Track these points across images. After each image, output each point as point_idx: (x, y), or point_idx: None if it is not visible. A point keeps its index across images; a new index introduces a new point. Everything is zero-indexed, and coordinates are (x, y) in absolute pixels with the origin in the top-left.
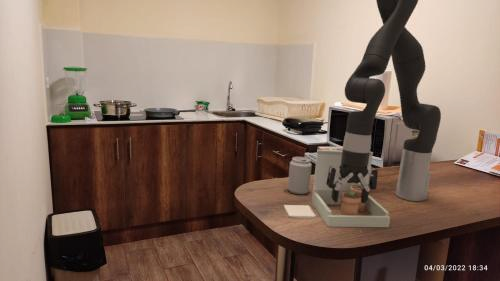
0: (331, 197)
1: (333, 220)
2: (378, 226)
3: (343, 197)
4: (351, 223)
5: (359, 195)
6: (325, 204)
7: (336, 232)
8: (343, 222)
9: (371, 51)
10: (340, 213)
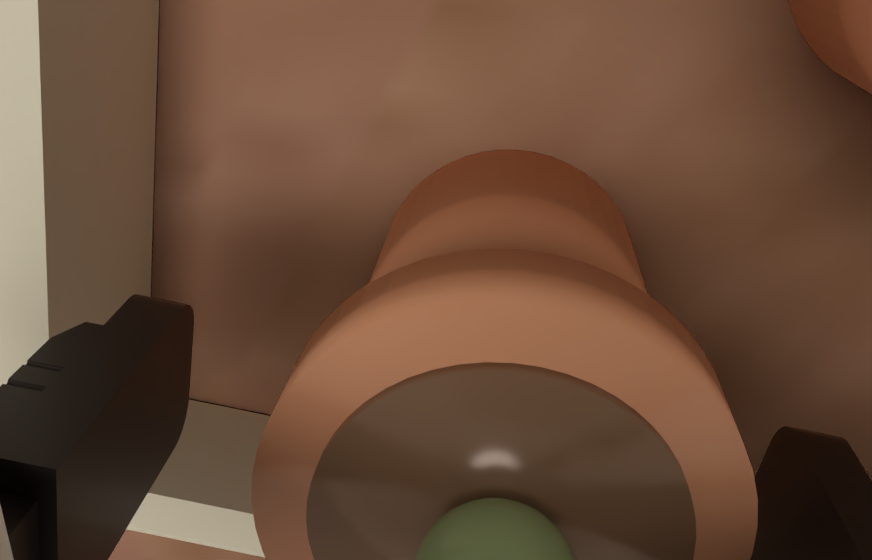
0: (63, 332)
1: None
2: None
3: (264, 536)
4: None
5: (739, 547)
6: (33, 238)
7: (155, 544)
8: None
9: None
10: (387, 238)
